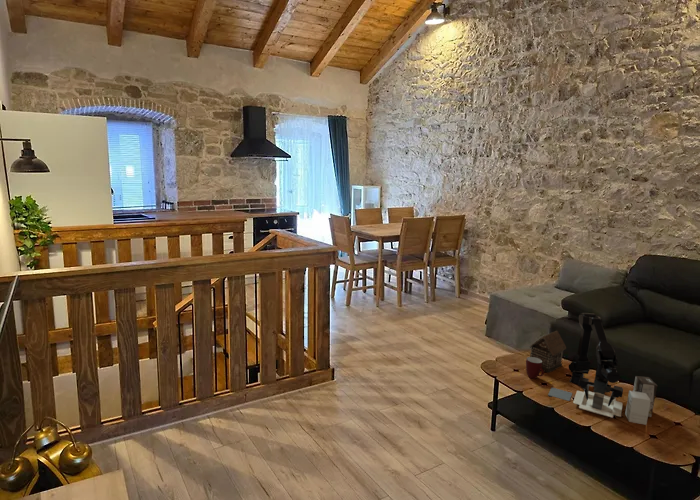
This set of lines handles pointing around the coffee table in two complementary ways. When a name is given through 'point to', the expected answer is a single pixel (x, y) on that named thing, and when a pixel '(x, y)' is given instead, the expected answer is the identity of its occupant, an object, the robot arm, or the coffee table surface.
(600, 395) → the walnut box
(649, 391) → the coffee box
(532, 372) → the mug
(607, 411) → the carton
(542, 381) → the coffee table surface
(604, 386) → the robot arm
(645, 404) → the supplement box
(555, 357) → the model building
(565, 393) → the slate mat
